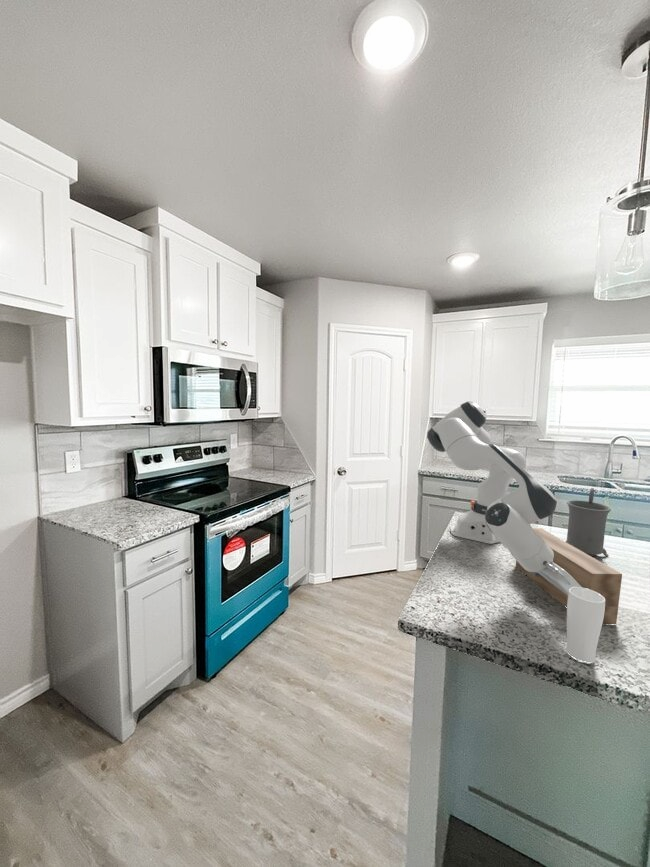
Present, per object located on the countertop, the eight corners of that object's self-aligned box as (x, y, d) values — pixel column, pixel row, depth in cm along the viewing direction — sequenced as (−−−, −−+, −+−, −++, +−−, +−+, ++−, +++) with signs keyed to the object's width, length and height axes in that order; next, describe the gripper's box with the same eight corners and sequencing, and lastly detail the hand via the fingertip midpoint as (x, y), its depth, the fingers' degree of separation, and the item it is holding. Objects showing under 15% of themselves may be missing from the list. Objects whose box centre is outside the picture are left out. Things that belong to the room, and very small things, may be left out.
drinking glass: (588, 672, 78) (595, 605, 76) (555, 652, 84) (562, 590, 82) (604, 662, 81) (612, 598, 79) (572, 643, 87) (578, 584, 85)
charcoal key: (534, 576, 108) (535, 567, 108) (528, 571, 112) (528, 561, 112) (552, 577, 109) (553, 567, 108) (545, 571, 112) (546, 562, 112)
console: (586, 625, 94) (592, 573, 93) (515, 566, 127) (519, 527, 126) (616, 625, 95) (622, 574, 93) (537, 566, 128) (541, 528, 126)
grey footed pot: (605, 567, 129) (613, 498, 127) (556, 554, 139) (563, 490, 137) (609, 552, 143) (617, 490, 141) (565, 541, 153) (571, 483, 151)
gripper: (570, 564, 86) (605, 603, 88) (520, 532, 107) (549, 565, 108) (550, 581, 87) (585, 621, 88) (504, 547, 107) (534, 579, 108)
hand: (565, 590), depth 98 cm, fingers closed, pressing on terracotta key
